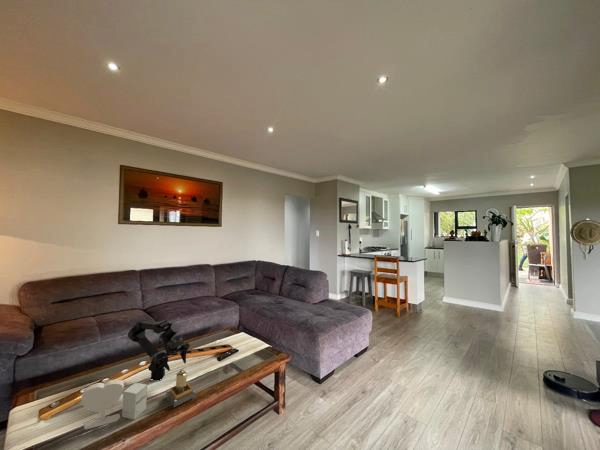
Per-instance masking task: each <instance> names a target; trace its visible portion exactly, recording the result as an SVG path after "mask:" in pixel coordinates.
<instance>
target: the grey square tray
mask: <svg viewBox="0 0 600 450" xmlns="http://www.w3.org/2000/svg"><path fill="white" fill-rule="evenodd" d="M165 393H166V399H167V400H168V402H169V403H170V405H171V407H172V408H173V407H176V406H178V405H180V404H182V403H183V402H185V401H187V400H189V399H191V398H193V397H195V398H196V391H195V390H194V389H193V387H192V386H190V384H189V383H188V382H187V381H186V391H185V392H183V393H181V394H178V395H176V385H175V386H171V387H170V388H169V389H168V390H167V391H166V392H165ZM182 405H183V404H182ZM180 406H181V405H180ZM178 407H179V406H178ZM176 408H177V407H176Z"/></svg>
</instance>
